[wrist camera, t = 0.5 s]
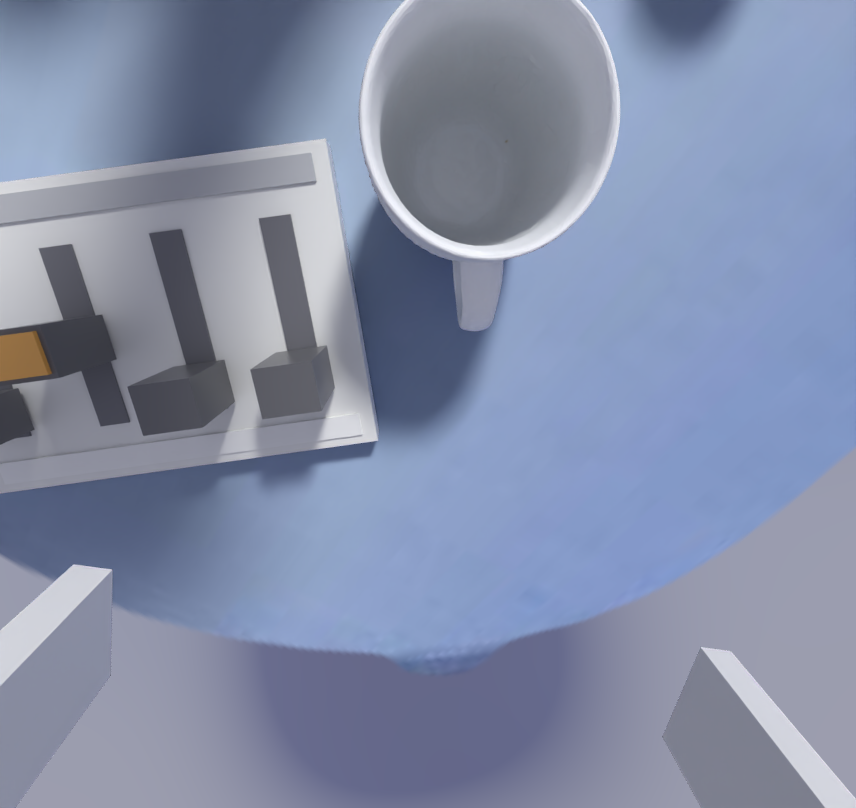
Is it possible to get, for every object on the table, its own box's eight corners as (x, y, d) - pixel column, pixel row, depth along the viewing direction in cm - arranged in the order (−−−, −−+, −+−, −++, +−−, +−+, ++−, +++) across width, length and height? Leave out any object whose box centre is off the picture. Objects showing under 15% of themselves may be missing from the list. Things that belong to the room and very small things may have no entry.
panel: (-97, 203, 31) (-134, 199, 29) (330, 146, 31) (325, 137, 29) (18, 481, 36) (-5, 495, 34) (379, 431, 37) (377, 441, 35)
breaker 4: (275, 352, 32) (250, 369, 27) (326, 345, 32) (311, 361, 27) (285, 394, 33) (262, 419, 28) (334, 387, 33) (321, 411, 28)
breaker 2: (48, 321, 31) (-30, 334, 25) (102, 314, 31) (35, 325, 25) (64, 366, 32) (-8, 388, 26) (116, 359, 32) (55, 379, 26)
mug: (536, 314, 35) (611, 342, 22) (386, 323, 34) (376, 356, 22) (539, 80, 30) (633, -49, 18) (368, 87, 30) (342, -39, 18)
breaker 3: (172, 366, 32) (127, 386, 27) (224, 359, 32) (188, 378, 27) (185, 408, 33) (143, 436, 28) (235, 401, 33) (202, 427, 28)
